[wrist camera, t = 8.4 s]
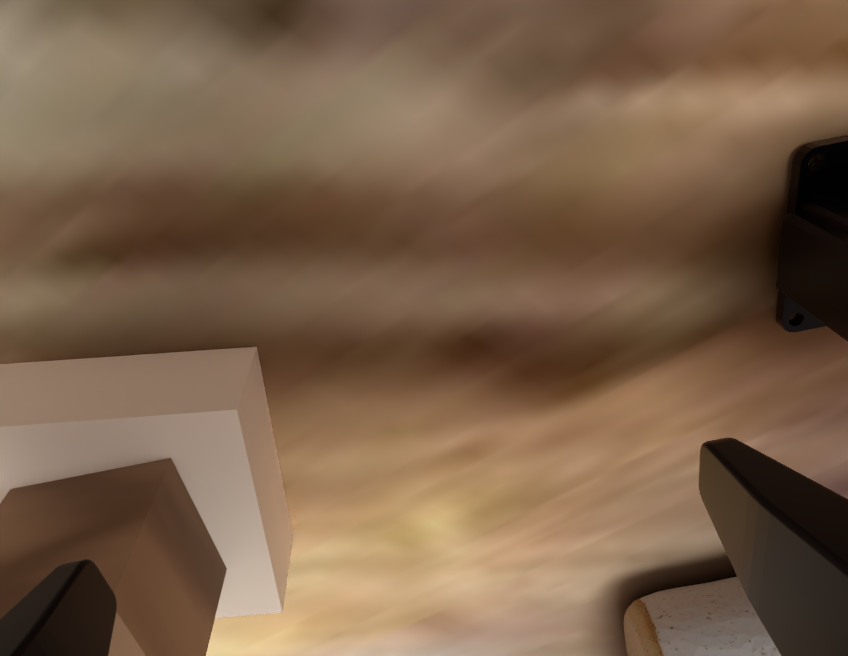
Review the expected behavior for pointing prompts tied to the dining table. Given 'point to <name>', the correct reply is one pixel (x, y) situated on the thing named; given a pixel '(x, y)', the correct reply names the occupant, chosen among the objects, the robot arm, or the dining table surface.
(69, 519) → the walnut cube
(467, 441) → the dining table surface
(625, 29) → the dining table surface
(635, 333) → the dining table surface
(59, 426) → the cream block
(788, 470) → the robot arm
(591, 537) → the dining table surface
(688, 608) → the ceramic mug
